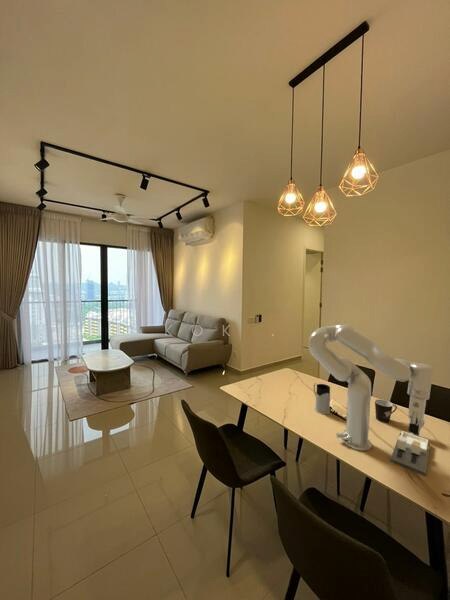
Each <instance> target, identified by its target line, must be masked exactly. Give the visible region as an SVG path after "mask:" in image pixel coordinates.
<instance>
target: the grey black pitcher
mask: <svg viewBox="0 0 450 600" xmlns="http://www.w3.org/2000/svg"><path fill="white" fill-rule="evenodd" d="M313 393H314V397H315V407H314V411H315V412H316V413H318V414H321V415H329V414H331V410H330V409H331V407H330V406H331V386H329V385H327V384H324V383H317V382H315V383H313Z"/></svg>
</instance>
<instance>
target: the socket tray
mask: <svg viewBox="0 0 450 600" xmlns="http://www.w3.org/2000/svg"><path fill="white" fill-rule="evenodd" d="M400 433H401V436H402V437H404V438H407V446H408V447H411V444H412V440H416V441H419V442H421V447H420V451H422V452H424V453H426V451H427V445H428V442H429V439H427V438H424V437H421V436H420V435H419V436H416V435H413V433H411V432H407V431H404V430H402V431H401V432H400Z"/></svg>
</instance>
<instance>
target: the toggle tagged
mask: <svg viewBox="0 0 450 600" xmlns="http://www.w3.org/2000/svg"><path fill="white" fill-rule="evenodd" d="M420 447H421V442H419V441H416V440H412V444H411V452H412V453H415V454H418V455H419V454H420Z"/></svg>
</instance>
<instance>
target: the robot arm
mask: <svg viewBox="0 0 450 600" xmlns="http://www.w3.org/2000/svg"><path fill="white" fill-rule="evenodd" d="M333 342H335V343H336V342H339V343H340V344H342V346H345V348H346V347H347V348H348V349H349V350H351V351H353V352H355V353H356V354H357V355H359V356H360V357H362V358H364V360H365V361H367V362H368V363H370V364H371V365H372V366H374V367H375V368H376V369H378V370H379V371H380V372H382V373H383V374H385V375H387V377H390V378H392V379H393V380H395V381H398V382H407V381H408V384H407V385H408V386H407V392H406V393H407V394H408V395H409V396H410V397H409V405H408V418H411V420H410V421H409V424H408V433H410V434H413V433H414V434H416V435H417V434H418V429H419V425H418V424H419V422H421V423H422V422H423V419H424V418H425V413H426V412H425V411H426V406H427V401H428V400H430V395H431V387H432V380H433V375H434V369H433V367H432V366H431V365H428V364H426V363H421V362H414V361H410V360H406V359H403V358H398V357H397V358H393V357H392V356H390V355H389V354H387V353H386V352H385V351H384V350H382V349H381V347H379V346H378V344H377V343H375V342H374V341H373V340H371V339H369V338H368V337H366V336H364V335H362V334H361V333H359V332H358V331H355V329H354V327H353V326H352V325H350V324H347V323H344V324H337V325H336V324H335V325H327V326H321V327H318V328H316V329H315V330H314V331H313V332H312V333H311V334H310V335H309V339H308V343H307V344H308V350H309V353H310V354H311V356H312V357H313V358H314V359H315V360H316V361H317V362H319V363H320V365H321V366H322V367H323V368H324V369H326V370H327V372H328V373H329V374H330V375H331V376H332V377H334V379H336V380H338V381H339V382H347V384H348V385H347V401H346V402H347V403H346V404H347V405H346V406H347V407H346V424H345V425H346V426H345V429H344V430H343V432H341V433H340V432H338V433H337V432H336V433H335V437H336V438H337V439H341V441H343V443H344V444H345V445H346V446H348V447H350V448H351V449H354V450H356V451H365V452H366V451H370V450H371V449H372V446H373V444H372V442H371V440H370V439H369V430H370V413H371V412H370V411H371V398H372V382H371V379H370V378H369V376H368V375H367V374H366V373H365V372H364V371H363V370H362V369H360V368H359V367H358V366H357V365H356V364H355V363H354V362H353V361H351V360H350V359H349V358H347V357H343V356H340V357H339V356H338V355H336V353H335V352H333V351H332V350H331V349H329V348H328V346H327V345H328V343H333ZM424 420H425V419H424Z"/></svg>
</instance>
